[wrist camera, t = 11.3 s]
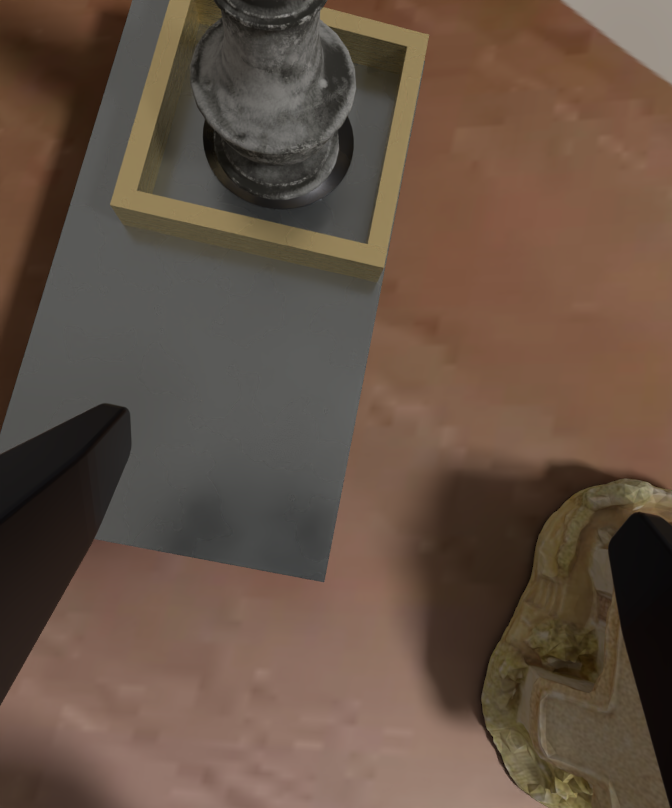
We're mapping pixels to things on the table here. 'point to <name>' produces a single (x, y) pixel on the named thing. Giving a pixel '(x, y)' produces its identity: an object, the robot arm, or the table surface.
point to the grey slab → (220, 303)
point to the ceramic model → (575, 666)
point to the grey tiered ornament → (273, 94)
